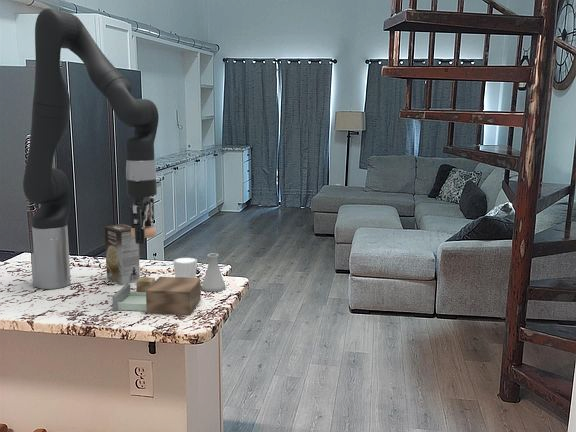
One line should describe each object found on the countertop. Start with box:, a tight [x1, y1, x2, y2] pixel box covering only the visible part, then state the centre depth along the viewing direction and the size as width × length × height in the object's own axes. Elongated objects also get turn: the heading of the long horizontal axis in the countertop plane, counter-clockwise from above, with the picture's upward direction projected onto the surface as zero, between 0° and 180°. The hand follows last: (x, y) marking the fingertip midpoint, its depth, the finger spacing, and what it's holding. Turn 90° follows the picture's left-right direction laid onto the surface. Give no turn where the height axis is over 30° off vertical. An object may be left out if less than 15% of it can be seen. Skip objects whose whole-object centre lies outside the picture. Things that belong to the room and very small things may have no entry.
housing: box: [146, 276, 202, 316], centre depth 148 cm, size 11×12×6 cm
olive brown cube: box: [135, 276, 156, 293], centre depth 160 cm, size 4×4×4 cm
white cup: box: [172, 257, 198, 278], centre depth 168 cm, size 7×7×7 cm
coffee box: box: [104, 223, 141, 286], centre depth 169 cm, size 9×6×16 cm
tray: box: [112, 283, 147, 312], centre depth 149 cm, size 11×10×4 cm
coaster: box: [131, 225, 157, 239], centre depth 152 cm, size 6×6×2 cm
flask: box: [200, 252, 226, 293], centre depth 163 cm, size 7×7×10 cm
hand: (143, 240), depth 152 cm, fingers closed on coaster, 6 cm apart
